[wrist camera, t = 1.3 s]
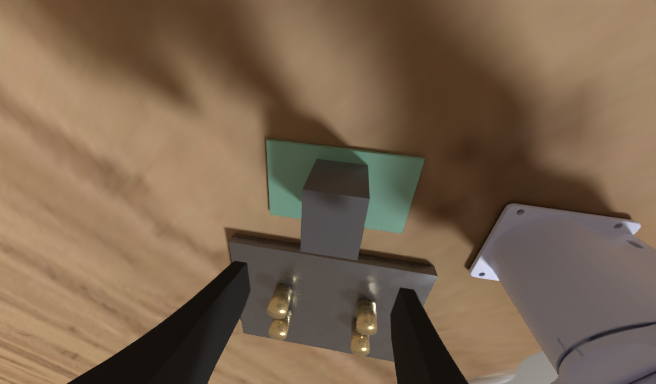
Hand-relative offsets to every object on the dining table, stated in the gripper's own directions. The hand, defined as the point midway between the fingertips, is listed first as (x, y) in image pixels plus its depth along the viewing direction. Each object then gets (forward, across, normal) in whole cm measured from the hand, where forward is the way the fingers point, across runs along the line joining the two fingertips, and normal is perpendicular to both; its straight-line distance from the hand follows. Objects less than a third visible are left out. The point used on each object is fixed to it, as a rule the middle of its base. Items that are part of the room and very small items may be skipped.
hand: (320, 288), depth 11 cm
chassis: (+10, 0, +15) cm, 18 cm away
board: (+10, 0, 0) cm, 10 cm away
